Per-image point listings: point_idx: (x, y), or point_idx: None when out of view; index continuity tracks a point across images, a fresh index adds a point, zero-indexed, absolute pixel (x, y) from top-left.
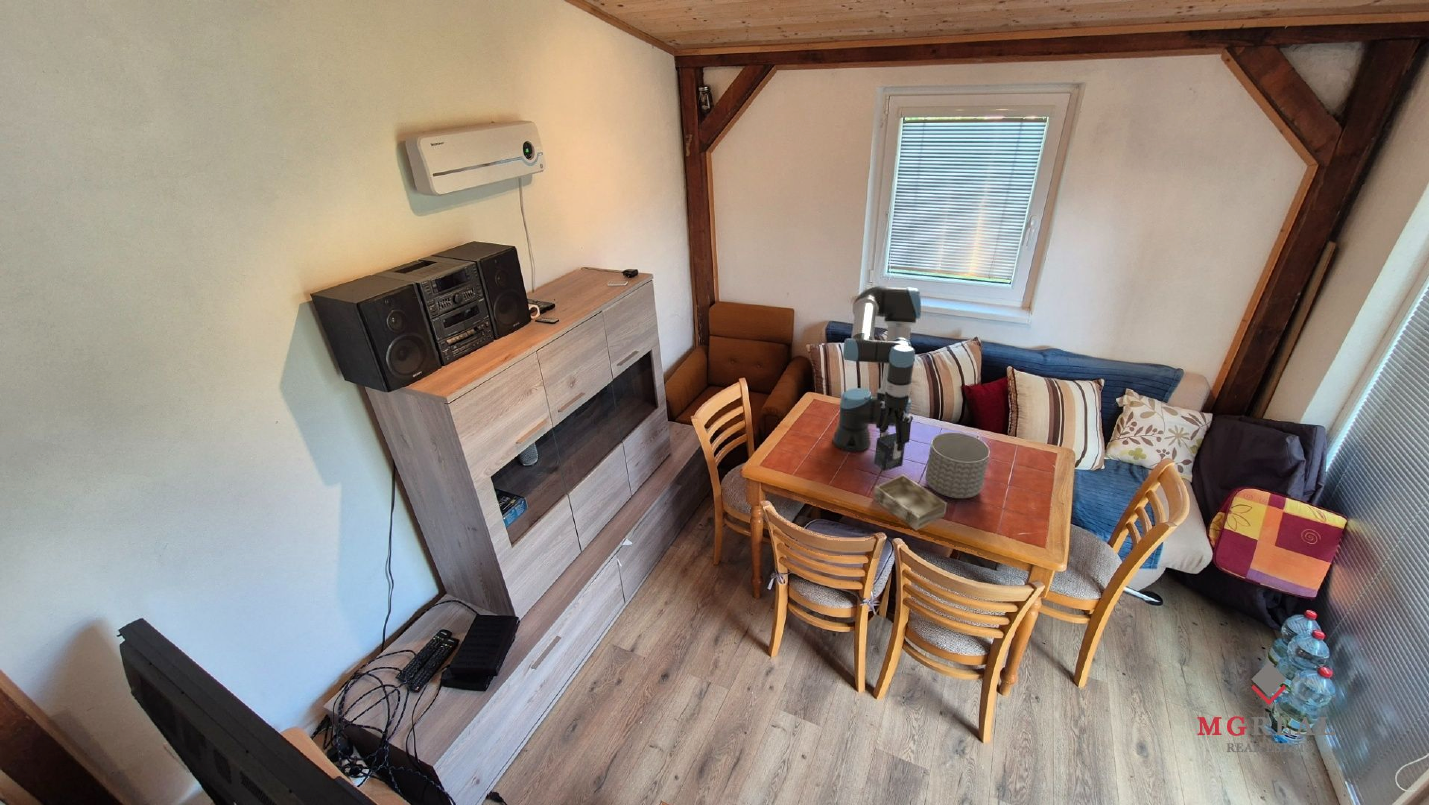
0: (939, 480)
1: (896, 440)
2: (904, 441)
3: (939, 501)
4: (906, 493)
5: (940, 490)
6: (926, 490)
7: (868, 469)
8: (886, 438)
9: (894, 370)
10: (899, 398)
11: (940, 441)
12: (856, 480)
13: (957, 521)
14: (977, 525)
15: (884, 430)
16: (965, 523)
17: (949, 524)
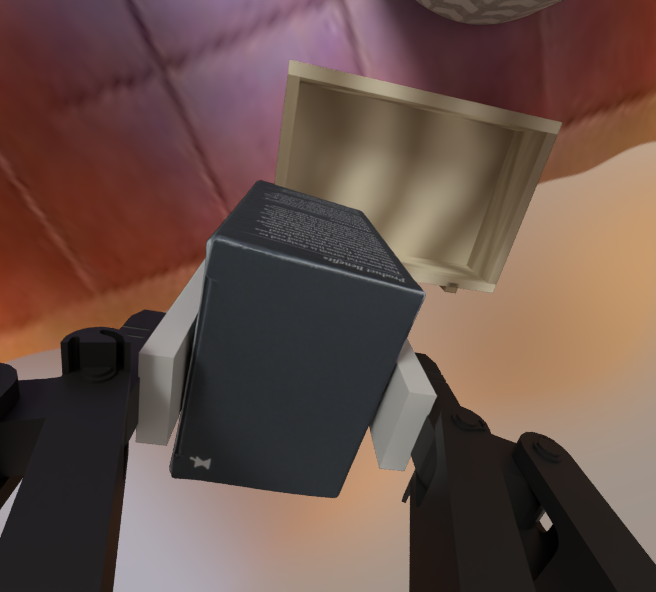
0: (509, 4)
1: (349, 383)
2: (542, 538)
3: (523, 127)
4: (348, 123)
5: (493, 20)
6: (451, 104)
7: (91, 65)
8: (241, 423)
9: None
10: None
11: None
12: (134, 190)
13: (570, 115)
14: (642, 77)
15: (127, 420)
16: (599, 102)
17: None
